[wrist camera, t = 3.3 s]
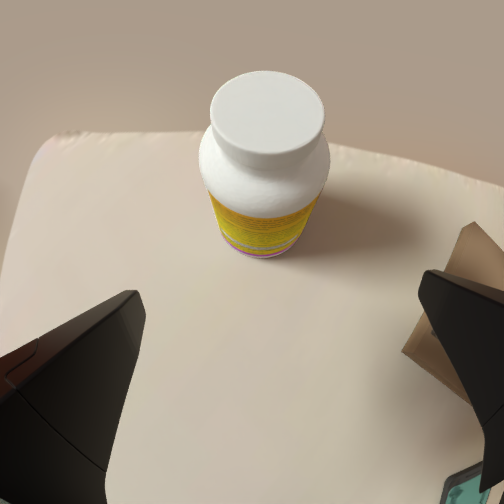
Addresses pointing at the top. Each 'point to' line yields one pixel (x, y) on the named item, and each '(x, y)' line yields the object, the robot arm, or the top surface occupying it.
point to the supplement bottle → (264, 160)
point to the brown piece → (469, 267)
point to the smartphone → (464, 487)
